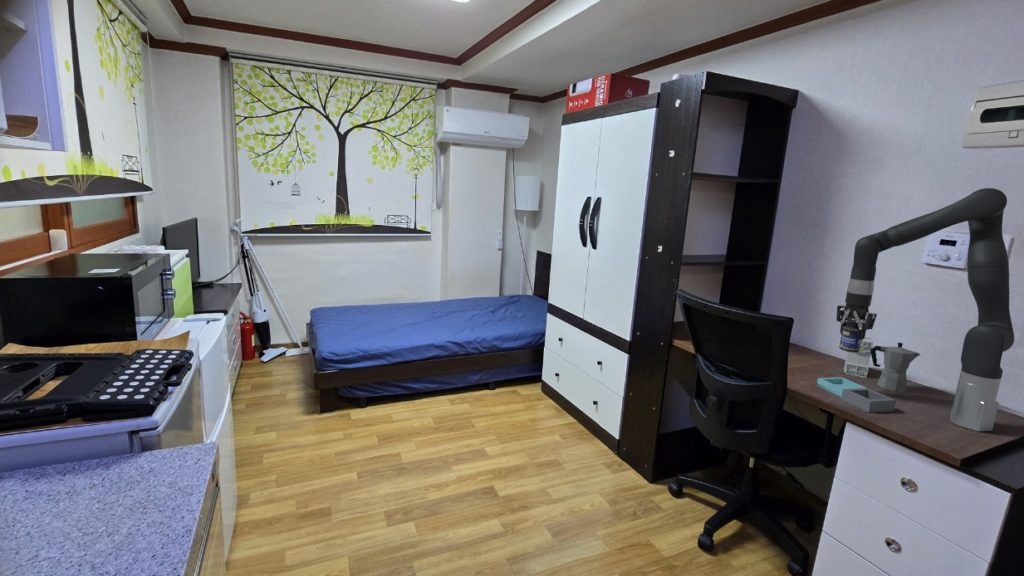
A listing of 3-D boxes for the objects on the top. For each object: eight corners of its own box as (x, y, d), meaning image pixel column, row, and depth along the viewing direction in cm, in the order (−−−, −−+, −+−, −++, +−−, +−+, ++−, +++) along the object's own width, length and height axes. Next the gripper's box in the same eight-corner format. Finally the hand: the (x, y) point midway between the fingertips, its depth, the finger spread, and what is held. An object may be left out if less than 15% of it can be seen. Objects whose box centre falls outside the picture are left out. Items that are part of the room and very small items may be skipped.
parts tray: (866, 396, 174) (868, 388, 173) (841, 397, 172) (843, 389, 171) (840, 384, 184) (841, 377, 184) (816, 385, 182) (818, 378, 182)
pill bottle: (836, 349, 175) (841, 320, 173) (841, 346, 179) (846, 318, 177) (856, 353, 171) (862, 324, 169) (861, 351, 175) (866, 321, 173)
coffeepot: (908, 386, 186) (917, 342, 183) (917, 395, 177) (927, 348, 174) (860, 379, 192) (869, 336, 188) (867, 387, 183) (876, 342, 180)
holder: (893, 411, 162) (895, 400, 161) (868, 412, 159) (870, 401, 159) (865, 398, 172) (867, 387, 171) (840, 399, 169) (842, 389, 169)
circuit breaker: (865, 368, 205) (871, 335, 203) (866, 378, 194) (873, 342, 191) (844, 364, 209) (850, 331, 207) (844, 373, 198) (850, 338, 195)
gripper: (887, 296, 165) (878, 342, 168) (850, 288, 179) (842, 331, 182) (869, 296, 163) (861, 343, 166) (833, 288, 177) (826, 331, 180)
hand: (851, 336), depth 174 cm, fingers closed on pill bottle, 6 cm apart
